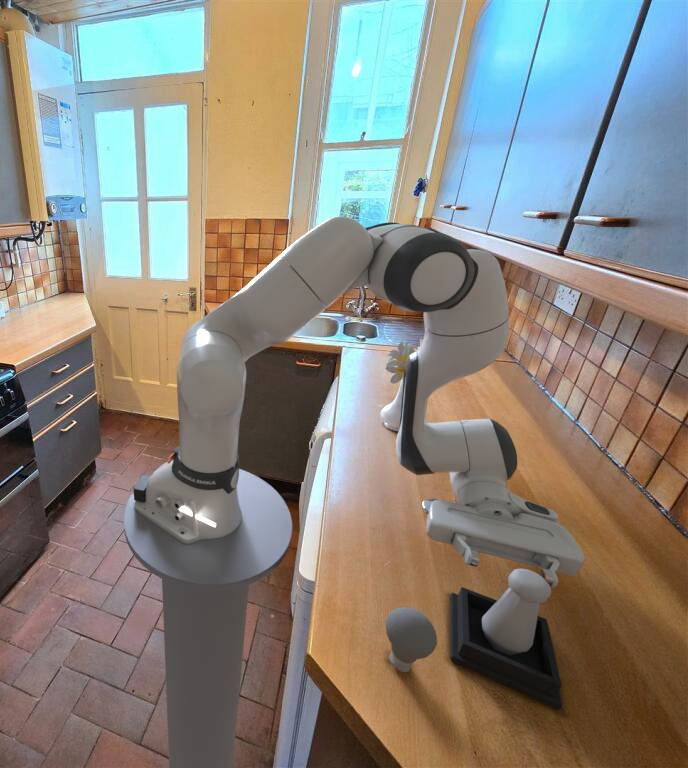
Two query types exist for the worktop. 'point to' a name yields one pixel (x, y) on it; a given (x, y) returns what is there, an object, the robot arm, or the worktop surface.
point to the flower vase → (393, 410)
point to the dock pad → (517, 671)
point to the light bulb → (409, 637)
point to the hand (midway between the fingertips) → (510, 572)
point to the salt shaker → (516, 613)
